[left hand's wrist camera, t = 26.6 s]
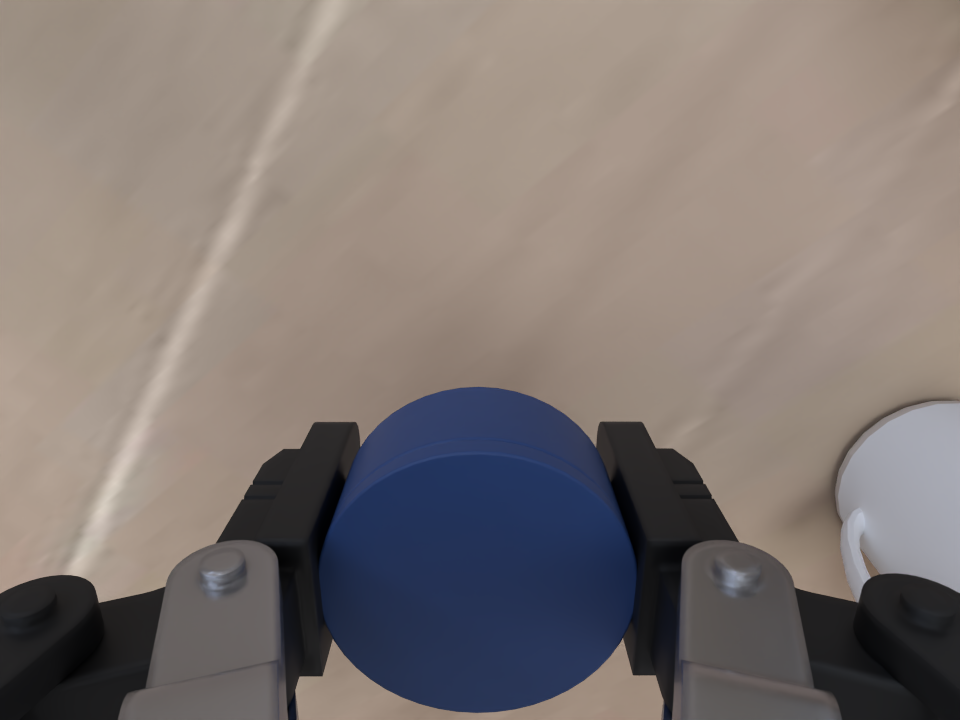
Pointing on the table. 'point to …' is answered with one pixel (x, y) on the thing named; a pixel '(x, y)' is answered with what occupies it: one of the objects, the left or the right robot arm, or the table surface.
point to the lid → (477, 554)
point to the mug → (903, 497)
